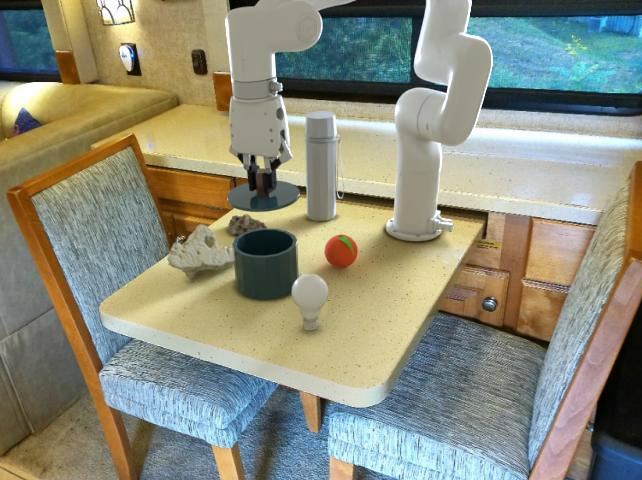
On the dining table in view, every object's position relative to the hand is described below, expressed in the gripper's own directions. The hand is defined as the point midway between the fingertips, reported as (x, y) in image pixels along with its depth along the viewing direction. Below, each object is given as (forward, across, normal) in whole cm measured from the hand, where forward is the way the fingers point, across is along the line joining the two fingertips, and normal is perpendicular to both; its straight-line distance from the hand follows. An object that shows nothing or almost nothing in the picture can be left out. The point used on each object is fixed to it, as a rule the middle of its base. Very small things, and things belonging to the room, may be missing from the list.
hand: (262, 189), depth 111 cm
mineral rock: (+21, +18, -18) cm, 33 cm away
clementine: (+21, -10, -12) cm, 26 cm away
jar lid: (+1, 0, 0) cm, 1 cm away
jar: (+20, 0, +1) cm, 20 cm away
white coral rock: (+20, +14, +4) cm, 25 cm away
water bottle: (+21, +5, -33) cm, 40 cm away
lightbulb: (+20, -15, +11) cm, 28 cm away
